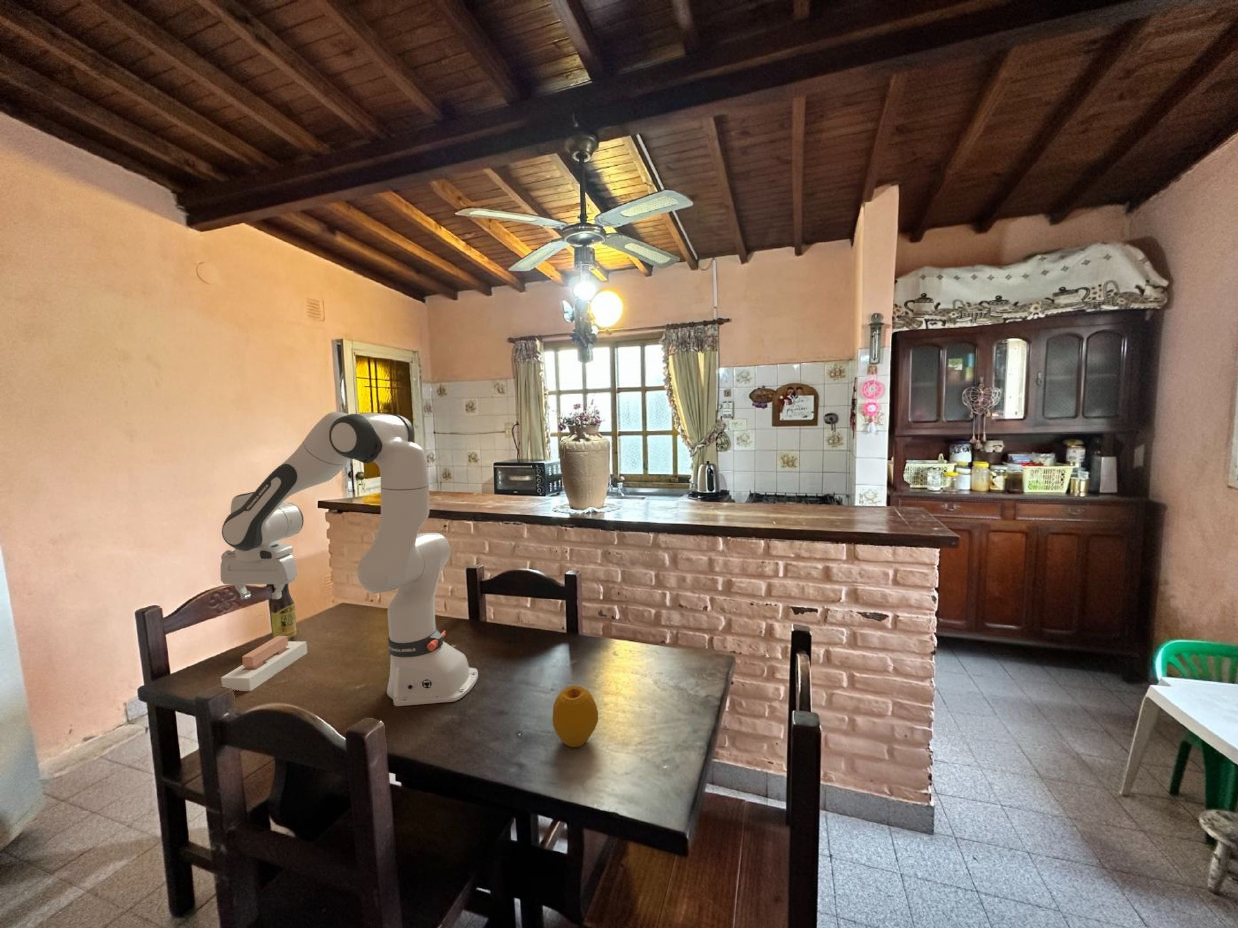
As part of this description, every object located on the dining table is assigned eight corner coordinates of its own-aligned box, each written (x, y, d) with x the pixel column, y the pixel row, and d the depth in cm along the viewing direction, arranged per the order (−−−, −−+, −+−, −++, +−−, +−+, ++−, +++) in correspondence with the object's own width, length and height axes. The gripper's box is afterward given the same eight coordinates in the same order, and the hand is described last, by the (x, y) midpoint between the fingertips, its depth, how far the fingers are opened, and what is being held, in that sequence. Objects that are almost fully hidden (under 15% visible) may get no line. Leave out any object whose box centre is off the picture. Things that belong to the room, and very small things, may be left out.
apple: (608, 739, 102) (606, 687, 101) (575, 764, 95) (572, 709, 94) (577, 720, 109) (575, 671, 107) (543, 743, 101) (541, 691, 100)
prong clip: (289, 659, 141) (287, 635, 140) (255, 681, 129) (252, 656, 128) (280, 658, 141) (277, 635, 140) (245, 681, 129) (242, 656, 128)
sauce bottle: (285, 646, 149) (278, 584, 147) (268, 645, 150) (261, 584, 148) (302, 636, 155) (296, 577, 153) (286, 635, 156) (280, 576, 154)
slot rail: (307, 652, 144) (306, 641, 144) (250, 690, 125) (249, 678, 124) (283, 652, 145) (281, 641, 145) (222, 690, 125) (221, 677, 125)
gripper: (210, 553, 129) (216, 602, 131) (280, 553, 127) (286, 602, 129) (231, 547, 136) (237, 594, 137) (298, 546, 134) (303, 594, 135)
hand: (261, 598), depth 133 cm, fingers open, 8 cm apart
